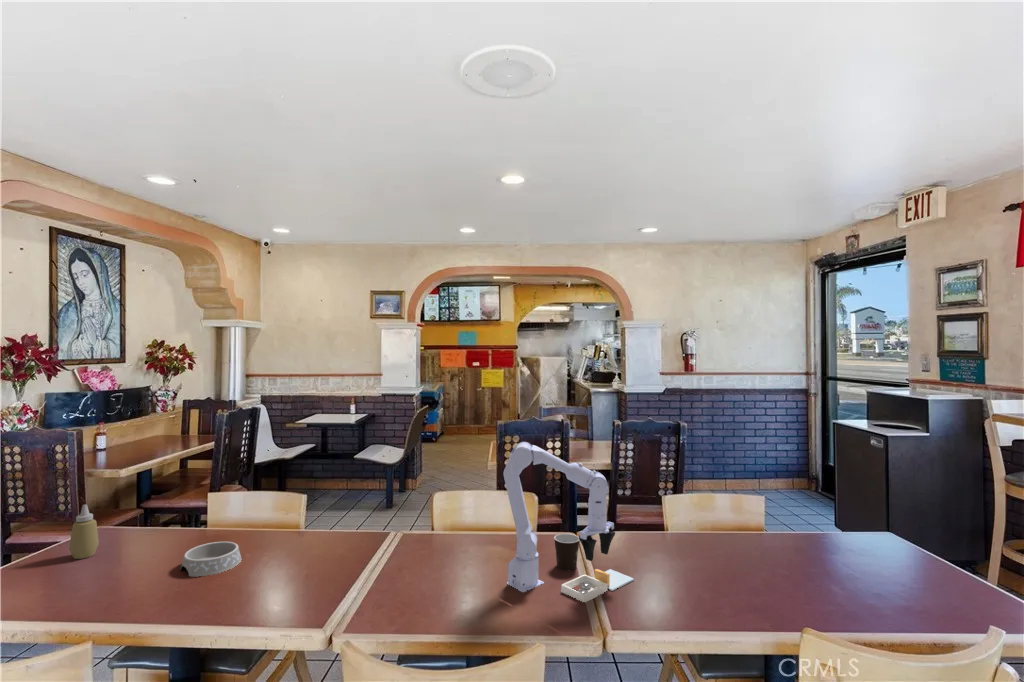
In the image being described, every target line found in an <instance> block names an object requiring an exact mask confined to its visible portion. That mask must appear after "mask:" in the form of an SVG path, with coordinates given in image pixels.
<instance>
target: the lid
mask: <svg viewBox="0 0 1024 682" xmlns="http://www.w3.org/2000/svg"><path fill="white" fill-rule="evenodd" d="M591 577H592V578H594V579H597V580H599V581H601V582H604V583H606V584H607V590H608V589H609V591H611V592H613V591H615V590H617V588H618V589H620V588H621V587H624V586H626V585H627V584H629V583H631V582H633V581H635V578H633V577H631V576H629V575H626V574H624V573H621V572H620V571H616V570H613V569H611V568H609V569H607V570H605V571H603V570H601V569H598V568H596V569H594V576H591Z"/></svg>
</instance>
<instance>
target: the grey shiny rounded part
mask: <svg viewBox="0 0 1024 682" xmlns="http://www.w3.org/2000/svg"><path fill="white" fill-rule="evenodd" d="M581 588H582V589H585V590H588V589H591V583H589V582H582V583H581Z"/></svg>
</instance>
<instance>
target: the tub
mask: <svg viewBox="0 0 1024 682" xmlns="http://www.w3.org/2000/svg"><path fill="white" fill-rule="evenodd" d="M592 577H593V576H590V575H588V574H583V575H580V576H578V577H575V578H573V579H571V580H568V581H566V582H564V583H562V584H561V586H560V587H561V590H560V592H561V593H562V594H564V595H567V596H568V595H569V596H568V597H570V596H571V597H570V598H572V597H573V599H574V598H576V599H575V600H577V601H579V600H580V601H579V602H581V601H582V602H581V603H583V602H585V603H587V602H589V601H591V600H593V599H596V598H597V597H599V596H601V595H603V594H605V593H607V592H608V589H607V584H606V583H604V582H601V581H599V580H597V579H594V578H592ZM582 582H589V583H591V589H588V590H587V591H588V592H587V593H585V594H583V593H581V592H579V591H576V590H574V589H572V588H574V587H576V586H578V585H581V583H582ZM595 587H597V588H595ZM606 591H607V592H606ZM604 592H605V593H604ZM600 594H601V595H600ZM598 595H599V596H598Z"/></svg>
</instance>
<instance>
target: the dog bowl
mask: <svg viewBox="0 0 1024 682" xmlns="http://www.w3.org/2000/svg"><path fill="white" fill-rule="evenodd" d="M241 560H242V561H243V559H242V555H241V552H240V547H239V544H238V543H235V542H232V541H214V542H208V543H204V544H200V545H196V546H194V547H193V548H190V549H188V550H187V551H186V552H185V553H184V555H183V559H182V562H181V567H180V571H181V570H182V568H183V567H184V568H185V569H186V571H187V572H188V577H193V578H194V577H197V578H198V577H199V576H201V577H208V576H207V575H210V576H214V575H213V574H215V575H219V574H222V573H221V572H223V573H225V572H224V571H226V572H228V571H227V570H229V569H231V570H233V569H235V568H236V567H235V566H237V565H238V564H239V563H240V562H241V563H242V561H241ZM241 563H240V564H241ZM240 564H239V565H240ZM239 565H238V566H239ZM238 566H237V567H238ZM234 567H235V568H234ZM232 568H233V569H232ZM229 571H230V570H229ZM218 573H219V574H218ZM199 578H200V577H199Z"/></svg>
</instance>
